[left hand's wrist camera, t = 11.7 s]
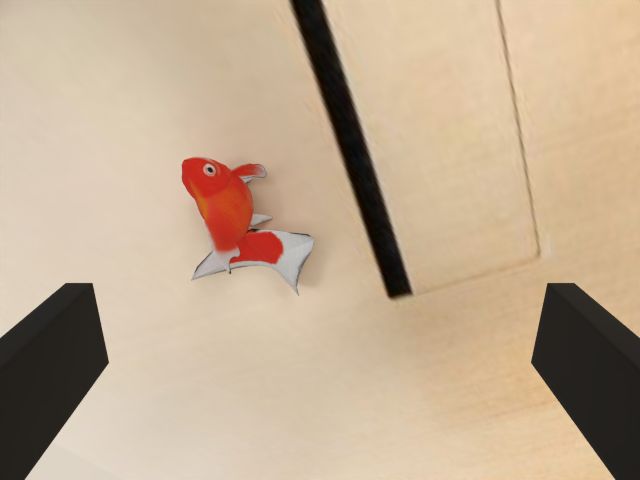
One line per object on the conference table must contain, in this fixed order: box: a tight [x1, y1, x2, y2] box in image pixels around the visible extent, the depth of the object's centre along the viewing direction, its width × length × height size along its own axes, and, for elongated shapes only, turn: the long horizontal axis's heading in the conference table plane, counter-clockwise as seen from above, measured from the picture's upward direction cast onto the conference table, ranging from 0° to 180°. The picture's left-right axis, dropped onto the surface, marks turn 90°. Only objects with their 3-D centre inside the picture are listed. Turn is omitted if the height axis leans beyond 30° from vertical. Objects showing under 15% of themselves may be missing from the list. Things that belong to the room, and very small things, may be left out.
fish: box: [182, 157, 315, 295], centre depth 38 cm, size 11×16×10 cm
